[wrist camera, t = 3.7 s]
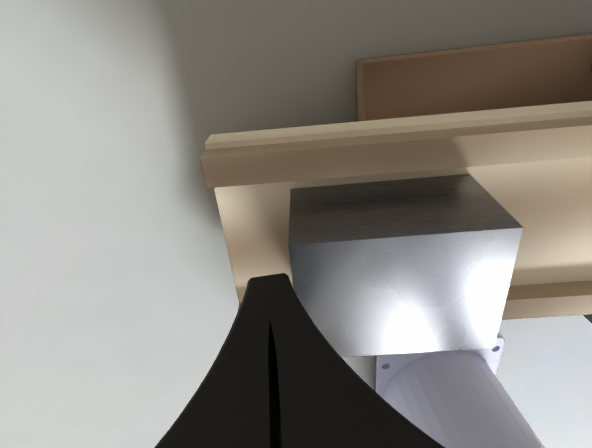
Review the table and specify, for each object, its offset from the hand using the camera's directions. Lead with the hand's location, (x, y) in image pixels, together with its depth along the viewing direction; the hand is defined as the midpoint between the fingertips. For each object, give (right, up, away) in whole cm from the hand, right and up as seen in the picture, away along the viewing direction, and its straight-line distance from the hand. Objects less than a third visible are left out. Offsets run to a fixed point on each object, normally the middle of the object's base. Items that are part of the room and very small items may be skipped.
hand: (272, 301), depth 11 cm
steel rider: (+4, +2, +3) cm, 5 cm away
